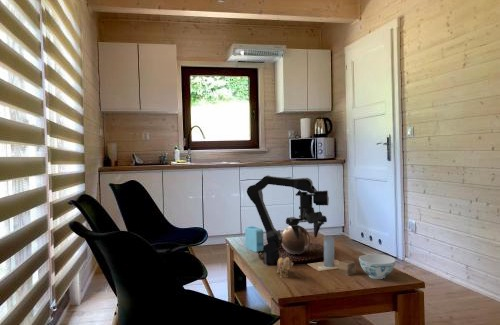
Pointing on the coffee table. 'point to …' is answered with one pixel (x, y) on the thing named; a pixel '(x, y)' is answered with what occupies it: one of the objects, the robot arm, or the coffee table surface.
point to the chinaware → (377, 265)
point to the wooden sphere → (295, 240)
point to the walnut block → (347, 267)
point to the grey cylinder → (328, 251)
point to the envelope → (321, 267)
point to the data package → (254, 239)
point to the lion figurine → (284, 266)
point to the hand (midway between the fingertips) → (306, 238)
